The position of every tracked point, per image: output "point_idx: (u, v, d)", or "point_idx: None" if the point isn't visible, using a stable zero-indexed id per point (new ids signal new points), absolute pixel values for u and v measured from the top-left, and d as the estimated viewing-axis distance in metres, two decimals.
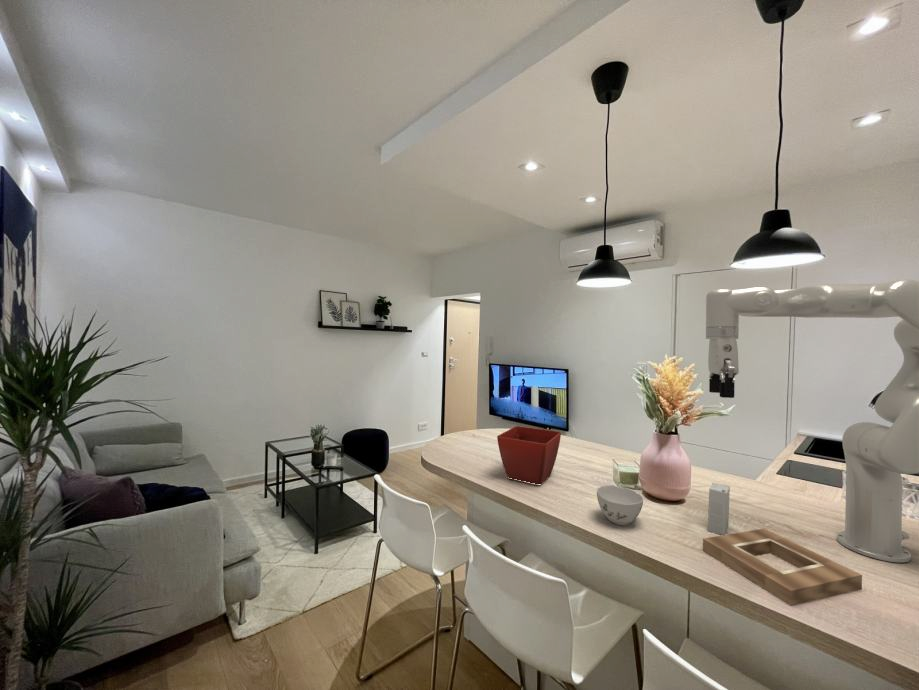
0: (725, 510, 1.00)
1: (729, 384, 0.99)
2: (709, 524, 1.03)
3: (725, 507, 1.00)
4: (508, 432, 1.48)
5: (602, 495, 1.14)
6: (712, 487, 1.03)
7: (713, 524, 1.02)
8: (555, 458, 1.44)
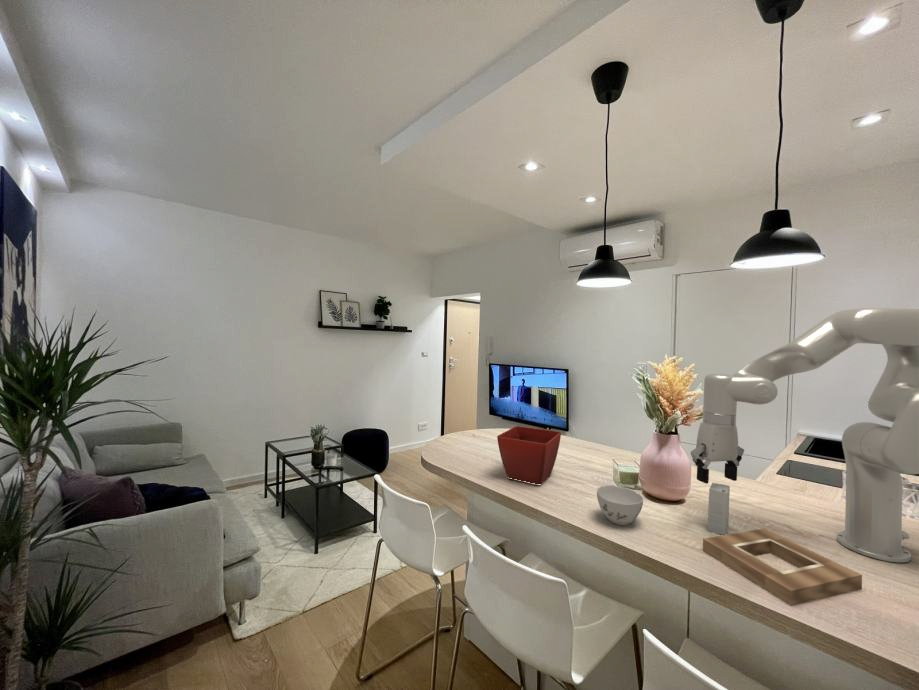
0: (725, 510, 1.00)
1: None
2: (709, 524, 1.03)
3: (725, 507, 1.00)
4: (508, 432, 1.48)
5: (602, 495, 1.14)
6: (712, 487, 1.03)
7: (713, 524, 1.02)
8: (555, 458, 1.44)
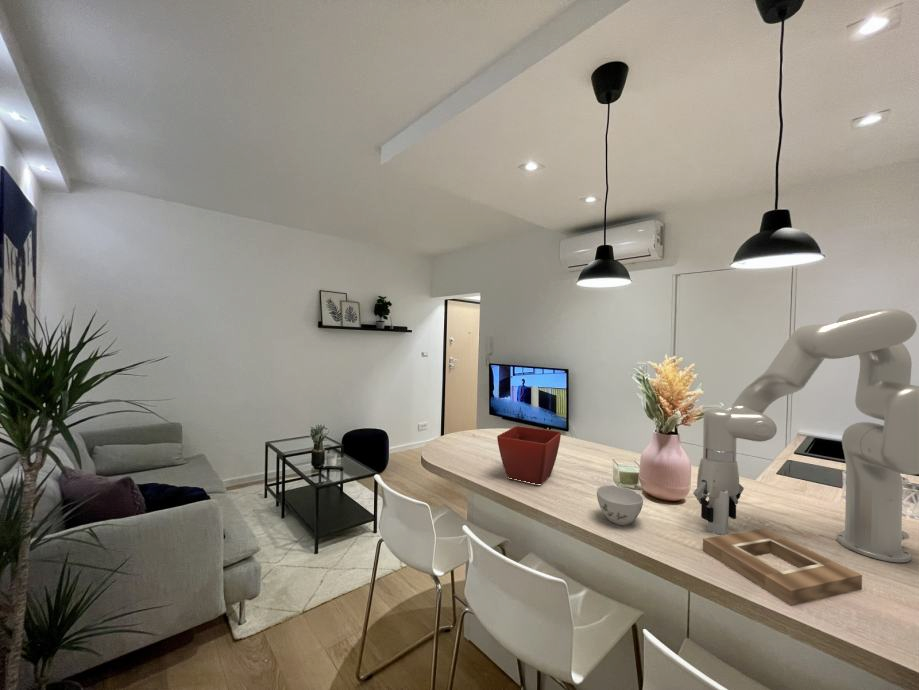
0: (725, 510, 1.00)
1: None
2: (709, 524, 1.03)
3: (725, 507, 1.00)
4: (508, 432, 1.48)
5: (602, 495, 1.14)
6: None
7: (713, 524, 1.02)
8: (555, 458, 1.44)
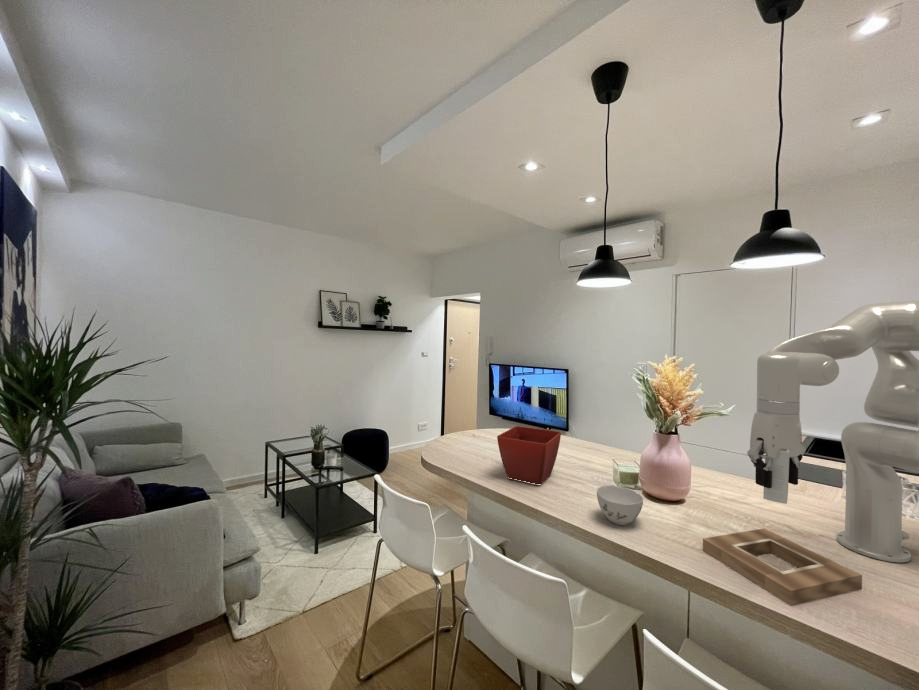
0: (787, 473, 0.83)
1: None
2: (766, 491, 0.85)
3: (787, 469, 0.83)
4: (508, 432, 1.48)
5: (602, 495, 1.14)
6: None
7: (771, 490, 0.85)
8: (555, 458, 1.44)
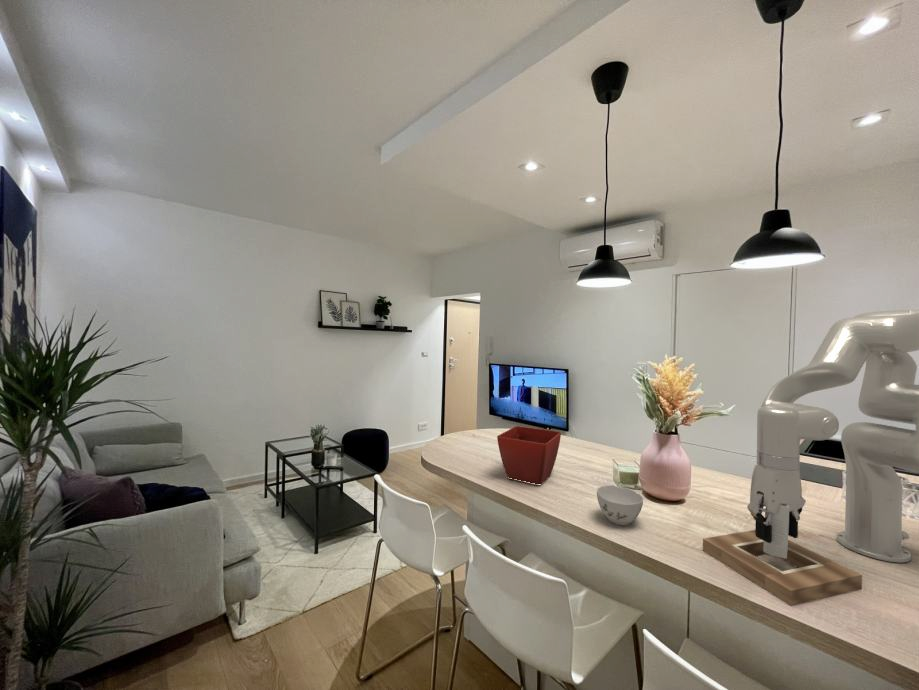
0: (786, 528, 0.83)
1: None
2: (765, 544, 0.86)
3: (786, 524, 0.83)
4: (508, 432, 1.48)
5: (602, 495, 1.14)
6: None
7: (771, 544, 0.85)
8: (555, 458, 1.44)
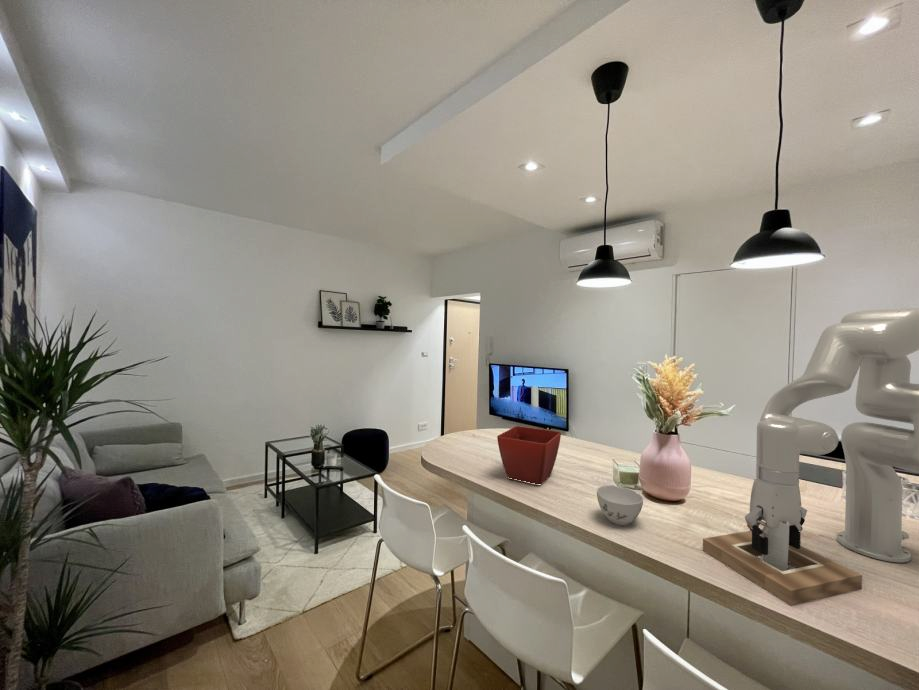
0: (786, 546, 0.83)
1: None
2: (765, 561, 0.86)
3: (786, 542, 0.83)
4: (508, 432, 1.48)
5: (602, 495, 1.14)
6: None
7: (771, 561, 0.85)
8: (555, 458, 1.44)
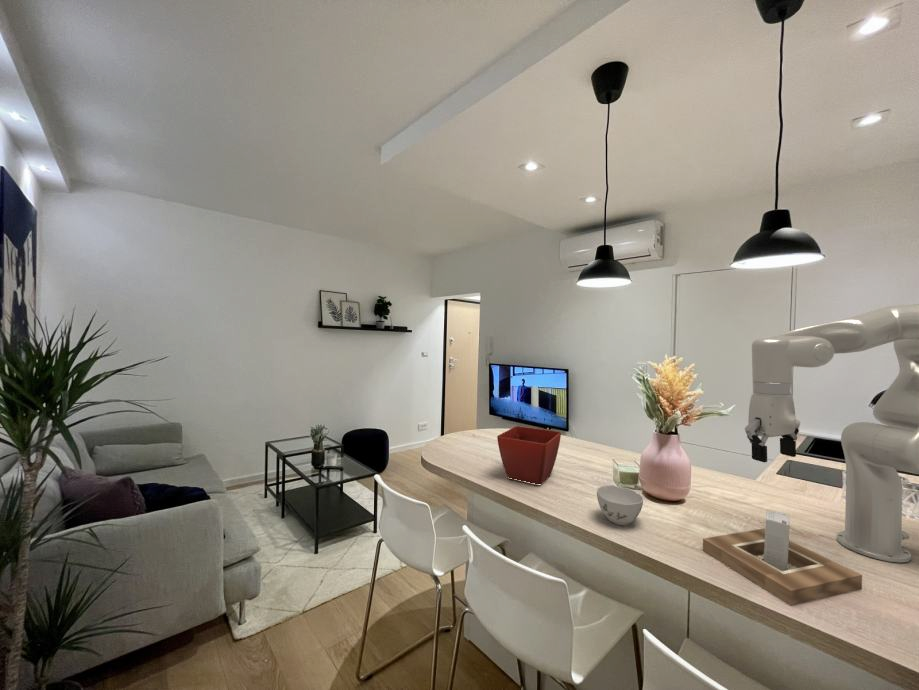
0: (786, 546, 0.83)
1: None
2: (765, 561, 0.86)
3: (786, 542, 0.83)
4: (508, 432, 1.48)
5: (602, 495, 1.14)
6: (769, 517, 0.86)
7: (771, 561, 0.85)
8: (555, 458, 1.44)
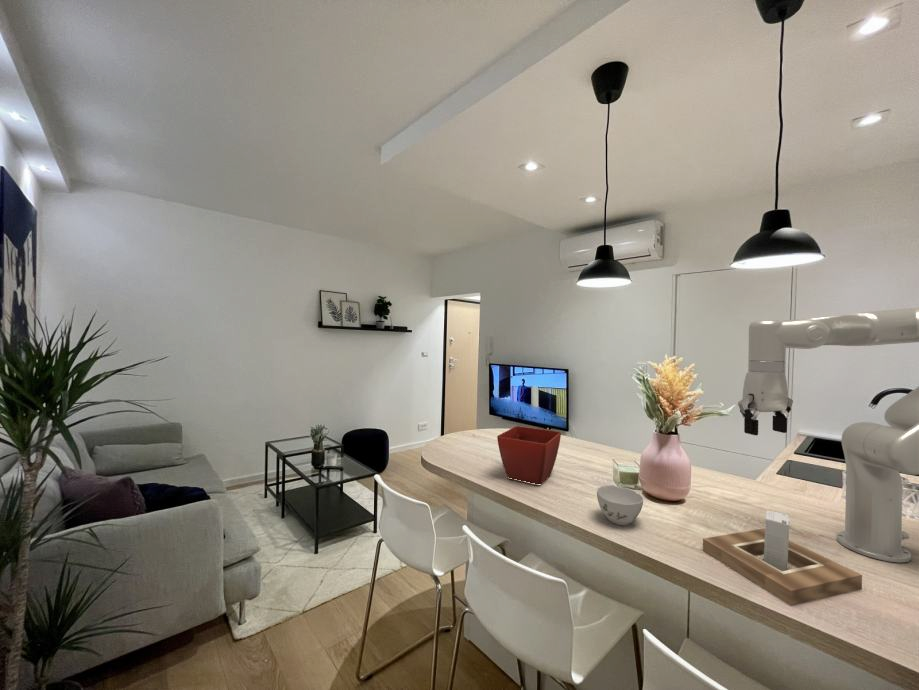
0: (786, 545, 0.83)
1: None
2: (765, 561, 0.86)
3: (786, 542, 0.83)
4: (508, 432, 1.48)
5: (602, 495, 1.14)
6: (769, 517, 0.86)
7: (771, 561, 0.85)
8: (555, 458, 1.44)
